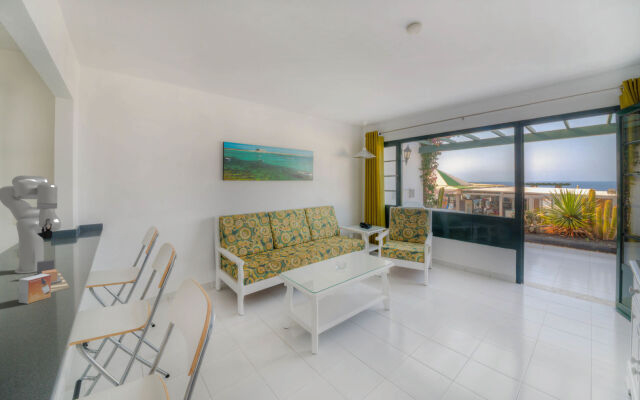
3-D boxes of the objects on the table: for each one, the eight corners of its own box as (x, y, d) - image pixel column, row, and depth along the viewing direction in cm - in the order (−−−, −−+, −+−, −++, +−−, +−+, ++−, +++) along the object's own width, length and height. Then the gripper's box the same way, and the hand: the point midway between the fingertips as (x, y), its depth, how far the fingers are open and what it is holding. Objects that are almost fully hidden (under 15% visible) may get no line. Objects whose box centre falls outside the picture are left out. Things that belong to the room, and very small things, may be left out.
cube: (41, 280, 126) (41, 271, 126) (55, 278, 130) (55, 269, 130) (42, 283, 123) (42, 273, 123) (57, 280, 127) (57, 271, 127)
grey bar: (34, 275, 134) (34, 261, 134) (55, 272, 140) (55, 259, 140) (38, 286, 121) (38, 271, 120) (61, 282, 127) (62, 267, 127)
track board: (29, 278, 134) (29, 276, 134) (59, 273, 142) (59, 271, 142) (35, 295, 114) (35, 293, 114) (69, 288, 123) (69, 286, 123)
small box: (27, 304, 105) (27, 280, 105) (18, 302, 106) (18, 278, 106) (51, 296, 113) (51, 274, 113) (42, 295, 114) (42, 273, 114)
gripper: (35, 205, 138) (35, 235, 138) (38, 207, 127) (37, 240, 128) (55, 204, 144) (54, 233, 144) (59, 207, 133) (58, 238, 134)
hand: (46, 236), depth 136 cm, fingers open, 9 cm apart
